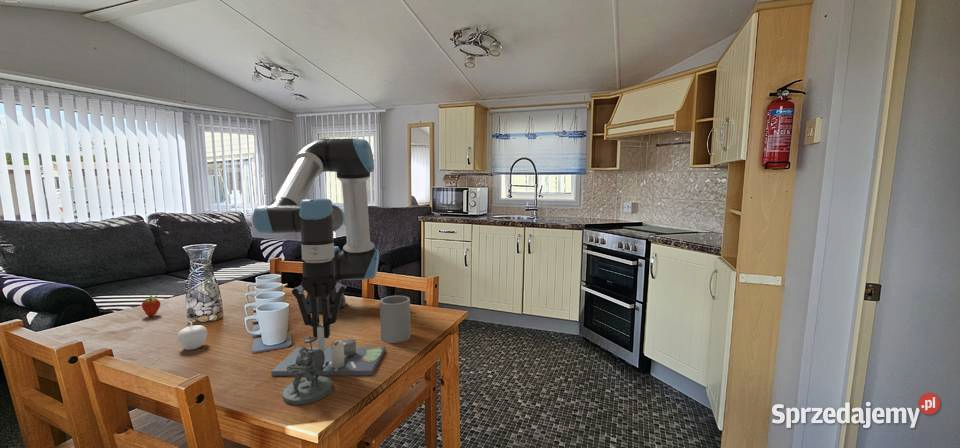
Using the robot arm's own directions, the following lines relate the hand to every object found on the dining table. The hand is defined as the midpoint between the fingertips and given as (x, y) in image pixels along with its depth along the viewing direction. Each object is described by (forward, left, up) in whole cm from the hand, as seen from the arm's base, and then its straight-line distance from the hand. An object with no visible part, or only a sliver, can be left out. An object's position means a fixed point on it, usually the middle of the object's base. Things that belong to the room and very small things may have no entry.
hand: (322, 349), depth 98 cm
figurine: (+11, +1, -5) cm, 12 cm away
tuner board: (-4, +1, -5) cm, 6 cm away
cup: (-21, +14, -5) cm, 26 cm away
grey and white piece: (-2, +4, -4) cm, 6 cm away
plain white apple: (-14, -44, -5) cm, 46 cm away
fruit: (-41, -79, -5) cm, 89 cm away
